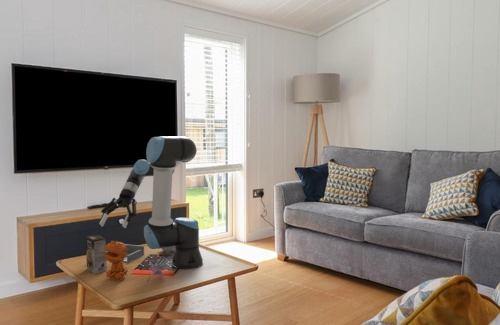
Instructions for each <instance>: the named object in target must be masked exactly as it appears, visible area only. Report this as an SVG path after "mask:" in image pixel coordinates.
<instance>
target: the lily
mask: <svg viewBox="0 0 500 325" xmlns="http://www.w3.org/2000/svg"><path fill="white" fill-rule="evenodd" d="M146 259H147V260H148V261H149V263H150V264H151V265H150V266H149V267H150V268H151V274H150V275H149V277H148V280H147V281H146V282H147V283H149V280H150V278H151V277H152V276H153V275H157V276H160V277H161V278H162V279H163V280H164V281H166V279H165V277H164V276H163V275H164V272H163V271H162V270H161V269H160V267H156V266H155V265H154V264H153V263H152V261H151V260H150V259H149V258H148V257H147V258H146Z"/></svg>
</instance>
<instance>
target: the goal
mask: <svg viewBox="0 0 500 325" xmlns="http://www.w3.org/2000/svg"><path fill="white" fill-rule="evenodd" d="M124 244H125V245H126V246H125V247H127V248H128V255H127V254H126V255H127V257H126V258H124V261H122V263H131V262H132V261H133V262H134V261H135V260H137V259H139V258H141V257H143V256H145V246H144V245H140V244H139V245H138V244H127V243H124ZM127 248H126V249H127ZM109 252H110V251H109ZM126 252H127V251H126ZM106 253H107V251H106ZM112 253H114V252H112ZM106 261H107V259H106Z"/></svg>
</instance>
